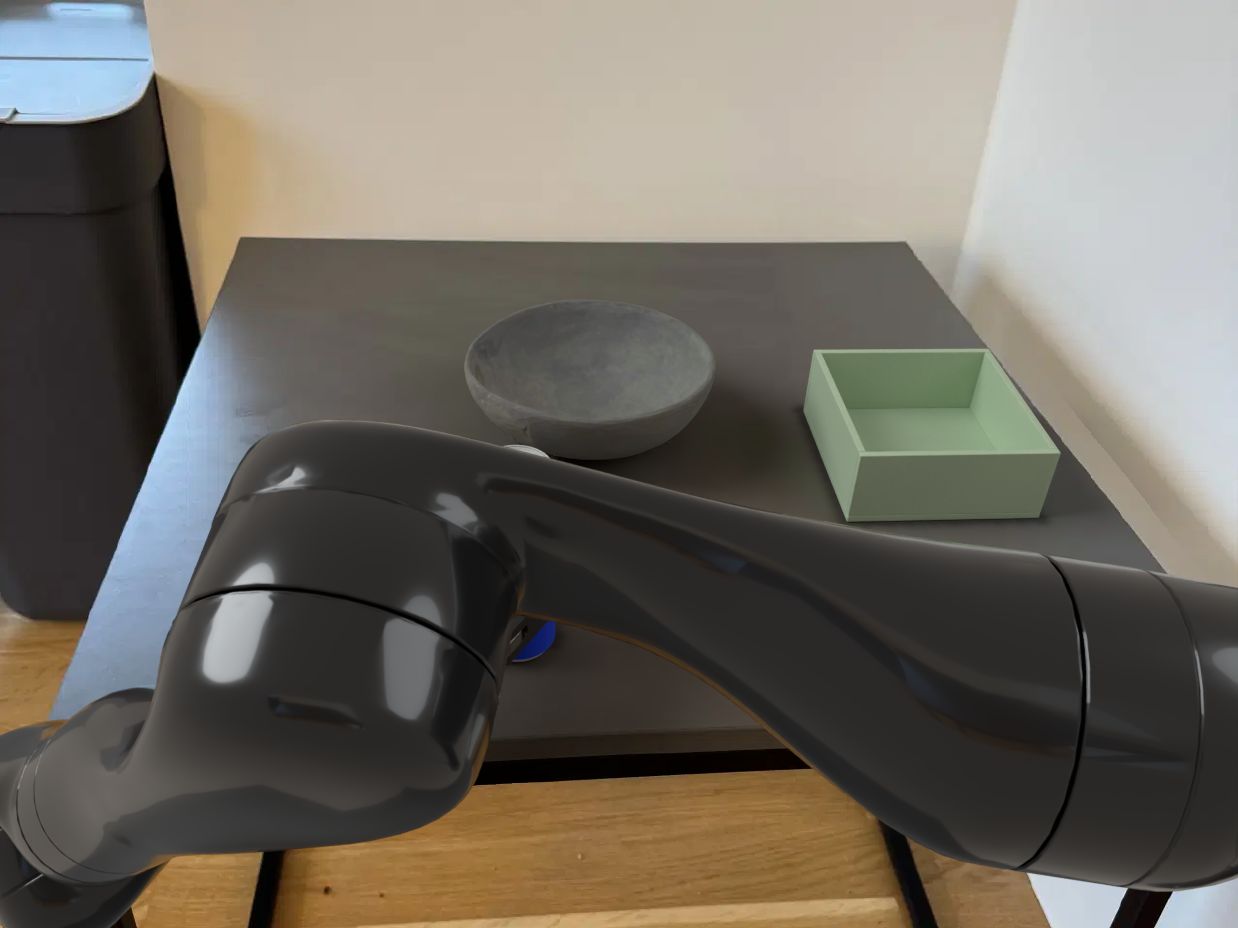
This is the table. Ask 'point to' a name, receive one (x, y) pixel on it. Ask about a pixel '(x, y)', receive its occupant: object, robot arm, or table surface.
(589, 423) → the bowl
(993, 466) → the open box
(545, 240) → the table surface
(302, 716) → the robot arm
